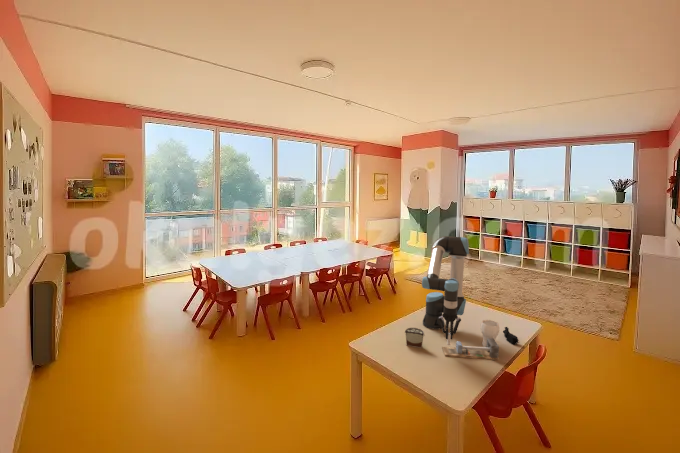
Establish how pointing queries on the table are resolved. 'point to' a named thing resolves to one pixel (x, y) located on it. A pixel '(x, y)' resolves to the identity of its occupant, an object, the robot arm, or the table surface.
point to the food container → (414, 337)
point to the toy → (510, 336)
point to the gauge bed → (475, 351)
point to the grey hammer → (469, 348)
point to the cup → (489, 330)
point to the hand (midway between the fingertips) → (448, 344)
